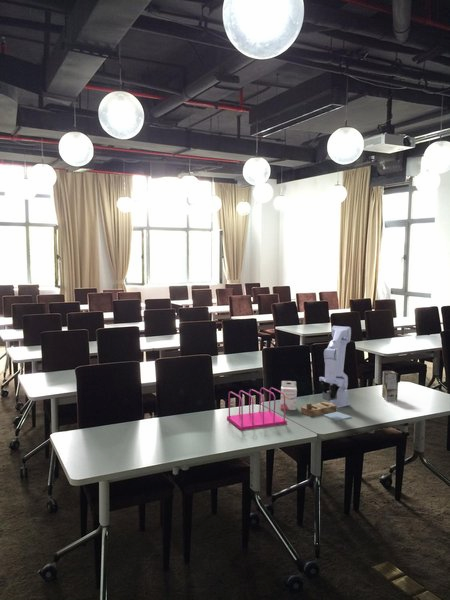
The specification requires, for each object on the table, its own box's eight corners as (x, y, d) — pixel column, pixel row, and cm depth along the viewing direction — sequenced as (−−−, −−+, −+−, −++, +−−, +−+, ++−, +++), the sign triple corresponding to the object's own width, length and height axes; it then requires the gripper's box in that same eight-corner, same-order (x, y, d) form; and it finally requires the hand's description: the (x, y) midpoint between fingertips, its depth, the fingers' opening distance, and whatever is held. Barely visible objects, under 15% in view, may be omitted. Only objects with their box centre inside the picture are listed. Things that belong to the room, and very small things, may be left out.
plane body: (325, 407, 275) (325, 397, 275) (336, 410, 269) (336, 401, 268) (300, 412, 266) (301, 402, 265) (311, 416, 259) (311, 406, 258)
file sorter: (226, 419, 254) (226, 389, 253) (270, 414, 263) (270, 384, 262) (240, 430, 238) (241, 398, 237) (287, 424, 247) (287, 393, 246)
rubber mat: (337, 412, 266) (337, 411, 265) (351, 417, 257) (351, 416, 257) (323, 415, 260) (323, 414, 260) (337, 421, 252) (337, 420, 252)
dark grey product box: (330, 397, 265) (331, 388, 264) (336, 399, 261) (337, 390, 261) (322, 398, 262) (322, 390, 261) (328, 400, 258) (328, 392, 257)
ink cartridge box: (280, 409, 271) (280, 382, 269) (280, 406, 275) (280, 380, 274) (296, 410, 270) (297, 383, 268) (296, 407, 275) (296, 381, 273)
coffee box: (397, 401, 286) (398, 374, 285) (386, 401, 286) (387, 373, 285) (392, 397, 295) (393, 370, 294) (381, 397, 295) (382, 370, 294)
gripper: (315, 369, 264) (314, 394, 265) (334, 375, 252) (334, 401, 253) (325, 368, 268) (324, 393, 269) (345, 373, 256) (344, 399, 257)
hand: (329, 397), depth 261 cm, fingers closed on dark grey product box, 4 cm apart
